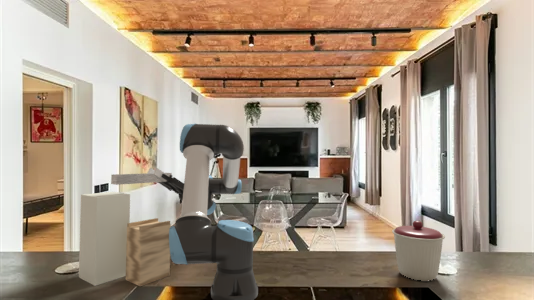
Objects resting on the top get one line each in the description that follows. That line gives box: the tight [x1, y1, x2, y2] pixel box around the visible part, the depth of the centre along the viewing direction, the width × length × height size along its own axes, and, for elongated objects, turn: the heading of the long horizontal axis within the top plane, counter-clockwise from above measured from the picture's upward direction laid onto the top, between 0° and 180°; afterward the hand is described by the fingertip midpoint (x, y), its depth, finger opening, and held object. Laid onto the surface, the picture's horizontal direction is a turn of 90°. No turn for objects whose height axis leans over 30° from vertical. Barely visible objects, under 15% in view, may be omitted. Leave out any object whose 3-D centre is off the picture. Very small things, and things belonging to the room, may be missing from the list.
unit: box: [78, 191, 131, 287], centre depth 114 cm, size 12×12×30 cm
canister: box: [391, 220, 446, 282], centre depth 118 cm, size 18×18×21 cm
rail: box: [110, 172, 173, 186], centre depth 121 cm, size 4×24×4 cm, turn 145°
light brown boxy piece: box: [125, 217, 172, 287], centre depth 112 cm, size 9×12×20 cm
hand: (152, 171), depth 125 cm, fingers closed on rail, 3 cm apart
